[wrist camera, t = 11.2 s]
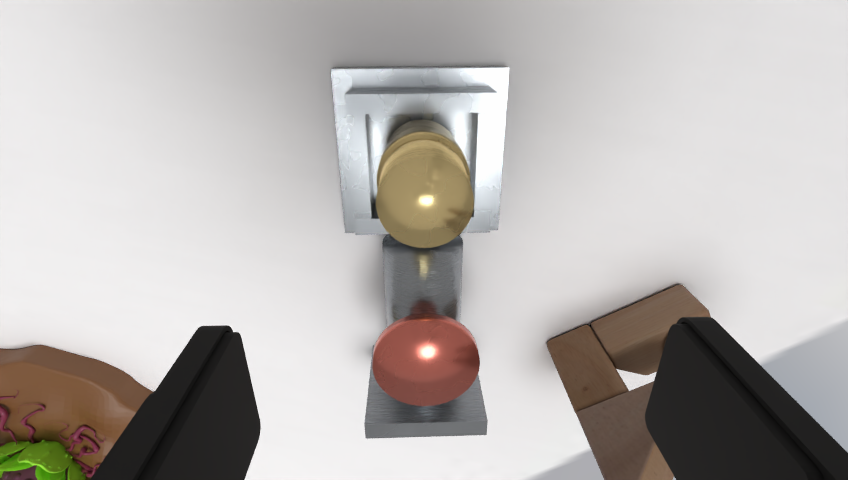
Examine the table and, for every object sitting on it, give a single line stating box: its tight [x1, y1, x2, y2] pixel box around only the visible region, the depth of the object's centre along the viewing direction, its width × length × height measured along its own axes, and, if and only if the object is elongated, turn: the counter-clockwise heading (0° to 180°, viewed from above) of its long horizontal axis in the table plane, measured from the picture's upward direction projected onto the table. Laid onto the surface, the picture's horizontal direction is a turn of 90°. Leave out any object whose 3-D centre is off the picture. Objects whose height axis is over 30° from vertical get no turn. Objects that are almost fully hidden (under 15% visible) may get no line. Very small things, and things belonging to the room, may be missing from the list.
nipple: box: [376, 120, 474, 248], centre depth 24 cm, size 5×5×8 cm
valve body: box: [331, 66, 509, 438], centre depth 27 cm, size 21×10×8 cm, turn 0°
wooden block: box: [547, 285, 711, 480], centre depth 27 cm, size 4×11×18 cm, turn 119°
